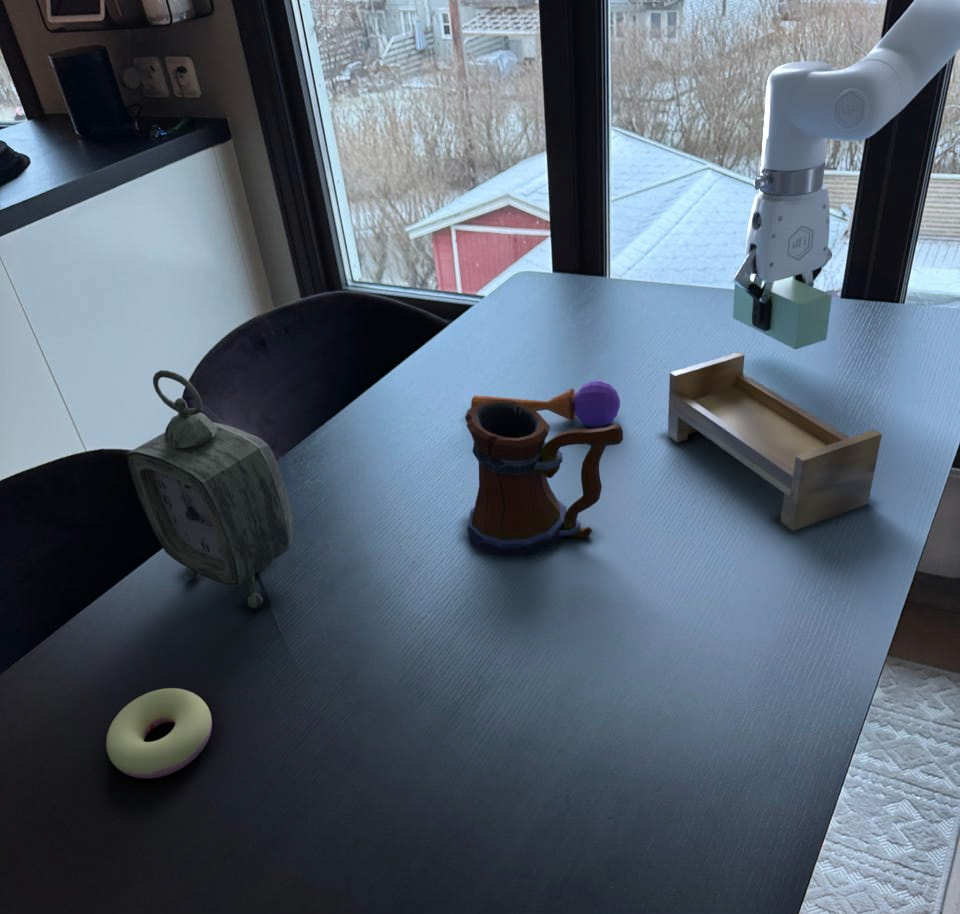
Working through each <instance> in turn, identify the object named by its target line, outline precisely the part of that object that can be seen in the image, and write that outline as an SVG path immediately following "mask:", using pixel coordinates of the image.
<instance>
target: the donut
mask: <svg viewBox="0 0 960 914" xmlns="http://www.w3.org/2000/svg"><path fill="white" fill-rule="evenodd" d="M167 723H174V727H173V728H172V729H171V730H170V732H169V733H168V734H166V735H165V736H163V737H161V738H159V739H157V740H153V741H145V740H146V737H147V736H148V734H149V733H150V732H151V731H152V730H153V729H156V727H158V726H160V725H163V724H167ZM212 728H213V719H212V713H211V711H210V709H209V707H208V705H207V703H206V702H205V701H204V700H203V698H201V697H200V696H199V695H198V694H196V693H194V692H193V691H189V690H187V689H183V688H175V687H169V688H168V687H167V688H160V689H156V690H152V691H150V692H147V693H145V694H142V695H140V696H138V697H137V698H135V699H133V700H132V701H130V702H129V703H128V704H127V705H126V706H124V707H123V708H122V709H121V710H120V711H119V712H118V713H117V715H116V716H115V717H114V719H113V720H112V722H111V724H110V726H109V728H108V731H107V735H106V740H105V741H106V742H105V743H106V744H105V745H106V752H107V756H108V758H109V759H110V761H111V763H112V765H113V766H114V767H115V768H116V769H117V770H119V771H120V772H121V773H123V774H125V775H127V776H130V777H132V778H137V779H158V778H161V777H165V776H169V775H171V774H174V773H175V772H178V771H180V770H181V769H183V768H185V767H186V766H188V765H189V764H190V763H192V762H193V761H194V760H195V759H196V758H198V756H199V755H200V754H201V753H202V752H203V750H204V748H205V747H206V745H207V743H208V742H209V739H210V737H211V734H212Z"/></svg>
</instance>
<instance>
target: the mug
mask: <svg viewBox="0 0 960 914" xmlns="http://www.w3.org/2000/svg"><path fill="white" fill-rule="evenodd" d="M464 418H465V421H466V428H467V430H468V431H469V433H470V435H471V437H472V440H473V447H472V454H473V455H474V457H475V458H476V460H477V461H478V491H477V495H476V499H475V504H474V506H473V508H470V509H469V518H468V522H467V527H466V529H467V534H468V537H469V538H470V539H471V541H472V542H473V543H474V545H475V546H476V547H477V549H478V550H480V551H482V552H486V553H491V554H495V555H498V556H502V557H507V556H509V557H511V556H512V557H519V556H520V557H521V556H522V557H527V556H531V555H535V554H536V553H539V552H542V551H543V552H544V551H545V550H549V549H551V548H553V547H555V545H556V544H557V543H558V542H560V540H562V539H563V538H564V537H567V538H575V539H587V538H588V537H589V536H590V534H591V533H592V532H593V529H592V527H589V526H585V527H581V526H582V525H581V522H580V521H579V520H578V515H579V514H580V513H582V512H584V511H586V510H587V509H589V508H591V507H592V506H594V505H595V504H597V502H598V501H599V500H600V498H601V492H602V486H603V485H602V481H601V475H600V463H601V462H600V461H601V458H602V456H603V454H604V452H605V449H606V446H616V445H619V444H621V443H622V442H623V441H624V430H623V428H622V425H620V424H619V423H615V424H612V425H609V426H607V427H597V428H592V429H591V428H575V429H568V430H564V431H562V432H560V433H558V434H555V435H554V436H553V437H551V438H550V439H549V440H548V441H547V442H546V438H547V437H548V436H549V432H550V428H551V426H550V424H549V423H548V422H547V421H546V419H545V417H543V416H542V414H541V413H540V412H539V411H535V410H533V409H531V408H529V407H528V406H526V405H524V404H522V403H521V404H519V403H517V402H514V401H508V400H503V399H501V400H490V401H484V402H482V403H479V404H477V405H475V406H473V407H471V406H470V408H469V409H467V411H466V414H465V417H464ZM571 445H572V446H573V445H589V446H590V448H589V450H588V451H587V453H586V454H585V457H584V459H583V461H582V464H581V470H580V480H581V488H582V496H580V497H579V498H577V499H576V500H575V501H574V502H573V503H572V504H570V506H569V507H568V508H566V507H567V506H566V505H565V504H563V503H562V502H561V501H560V500H559V499H558V498H557V497H556V495H555V493H554V492H553V490H552V488H551V486H550V484H549V481H548V479H552V478H553V477H554V476H555V475H556V474H557V473H558V471H559V470H560V468H561V464H562V463H563V461H564V459H563V458H564V455H563V453H562V452H561V451H560V448H564V447H567V446H571Z"/></svg>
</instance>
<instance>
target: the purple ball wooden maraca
mask: <svg viewBox="0 0 960 914" xmlns="http://www.w3.org/2000/svg"><path fill="white" fill-rule="evenodd" d="M501 399H503V400H508V401H514V402H517V403H519V404H521V403H522V404H524V405H526V406H528V407H529V408H531V409H533V410H535V411H536V412H541V411H549V412H551V413H553V414H556V415H557V416H560V417H562V418H564V419H567V420H568V421H571V422H573V421H575V419H576V417H577V419H578V420H579V422H581V424H583V425H585V426H588V427H590V428H603V427H604V426H606V425H608V424H611V423H612V422H613V420H614V419H616V417H617V415H618V413H619V410H620V407H621V399H620V396H619V393H618V391H617V389H616V388H615V387H614V386H613V385H612V384H611V383H609V382H606V381H604V380H592V381H589V382H586V383H584V384H582V386H581V387H580V388H579V389H578V390H577V391H575V389H574V388H573V387H572V388H570V389H568V390H565V391H564V392H562V393H561V394H559V395H556V396H555V397H553V398H550V399H549V400H535V399H525V398H513V397H512V398H511V397H502V396H501V397H500V396H488V395H477V394H476V395H473V396H472V398H471V402H470V408H471V407H473V406H475V405H477V404H479V403H482V402H484V401H490V400H501Z"/></svg>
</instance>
